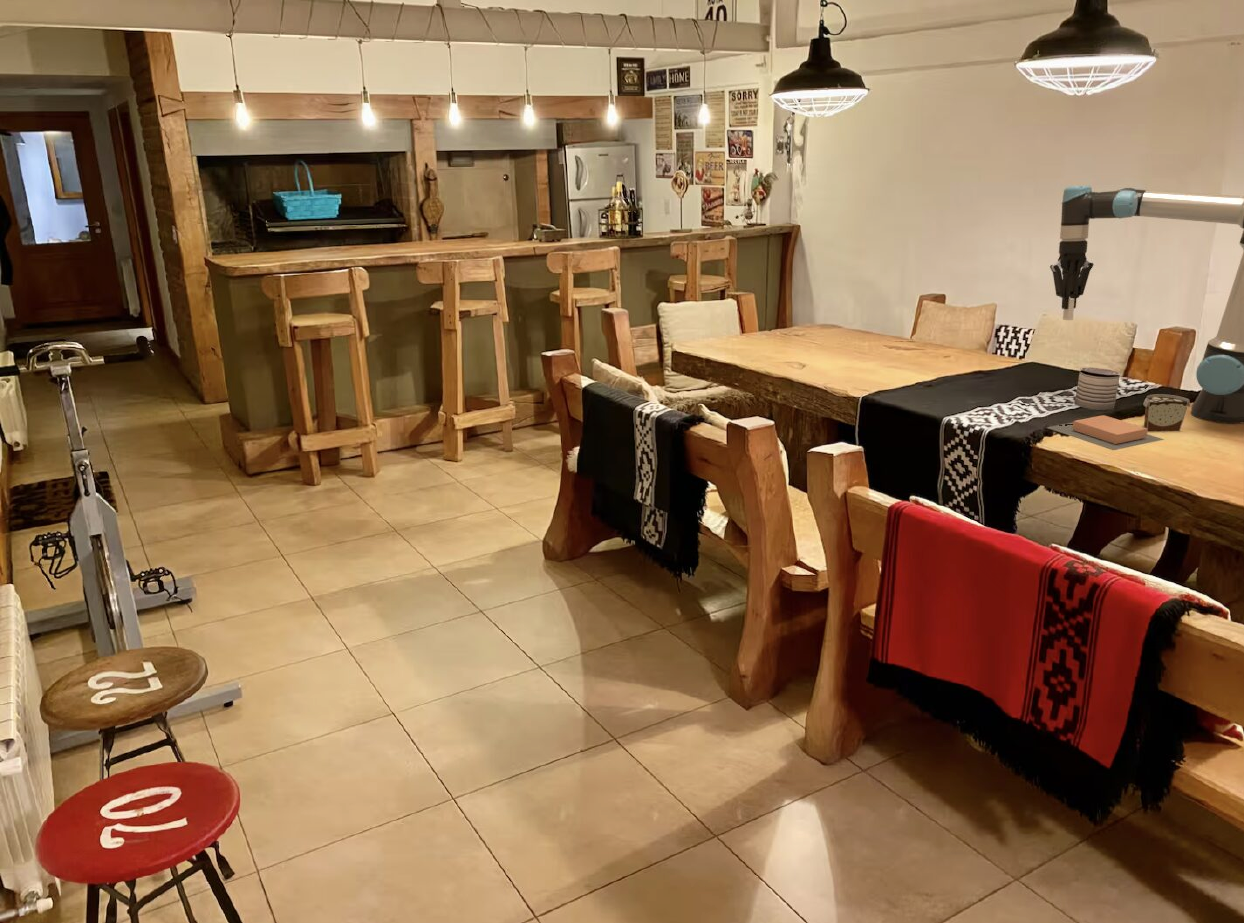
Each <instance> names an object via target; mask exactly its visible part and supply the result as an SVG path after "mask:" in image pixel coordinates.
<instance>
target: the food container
mask: <svg viewBox="0 0 1244 923" xmlns="http://www.w3.org/2000/svg"><path fill="white" fill-rule="evenodd" d="M1142 404H1143V406H1144V407H1145V409H1144V410H1145V411H1144V423H1143V427H1144V428H1148V431H1147V432H1180V431H1181V429H1182V426H1183V422H1184V419H1185V415H1186V412H1187V409H1188V407H1191V402H1190V398H1186V397H1183V396H1179V395H1173V394H1172V395H1171V394H1165V393H1162V394H1161V393H1160V394H1159V393H1157V394H1149V395H1146V398H1145V399H1144V401H1143V403H1142Z"/></svg>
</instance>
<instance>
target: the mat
mask: <svg viewBox="0 0 1244 923" xmlns="http://www.w3.org/2000/svg"><path fill="white" fill-rule="evenodd" d="M1073 422H1074V421H1072V422H1067V423H1062V424H1057V425H1052V426H1047V427H1045V429H1049V430H1051V431H1054V432H1057V433H1060V434H1065V435H1066V436H1070V437H1072V438H1075V439H1079V440H1082V441H1084V442H1087V443H1090V444H1094V445H1097V446H1099V447H1102V448H1105V449H1108V450H1112V451H1116V450H1121V449H1122V450H1123V449H1126V448H1131V447H1135V446H1139V445H1145V444H1149V443H1153V442H1159V441H1164V440H1165V439H1164V438H1161V437H1158V436H1155V435H1151V434H1148V433H1147V436H1146V437H1145V438H1142V439H1137V440H1132V441H1128V442H1123V443H1118V444H1114V443H1111V442H1108V441H1105V440H1102V439H1098V438H1095V437H1092V436H1089V435H1086V434H1083V433H1080V432H1077V431H1074V430H1073V429H1072V428H1073V425H1067V426H1065V424H1073ZM1059 425H1062V426H1059Z"/></svg>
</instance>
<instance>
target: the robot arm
mask: <svg viewBox="0 0 1244 923" xmlns="http://www.w3.org/2000/svg"><path fill="white" fill-rule="evenodd" d="M1092 189H1093V188H1092V186H1090V185H1078V186H1067V187H1065V189H1064V190H1063V194H1062V202H1061V216H1060V217H1061V221H1060V232H1059V233H1060V234H1059V239H1060V240H1061V241H1060V242H1059V244H1058V245H1059V247H1058V254H1059V256H1058V259H1057V262H1056V263H1054V264H1051V265H1050V266H1049V269H1050V270H1051V272H1052V277H1053V282H1054V289H1055V296H1057V297H1059V298H1061V309H1062V310H1063V311H1062V312H1063V313H1062V320H1065V321H1073V320H1074V309H1076V307H1077V299H1078V298H1080V296H1083V295H1084V293H1085V289H1086V285H1087V282H1088V279H1089V276H1090V272H1091V270H1092V268H1093V267H1094V265H1095V264H1094V262H1090V261H1089V260H1088V259H1087V256H1086V255H1087V254H1086V253H1087V251H1088V240H1086V239H1089V226H1090V219H1091V220H1095V219H1126V218H1132V217H1147V218H1157V219H1167V220H1168V219H1170V220H1180V221H1192V222H1206V223H1215V224H1216V223H1217V224H1229V225H1238V226H1239V227H1240V228H1241V229H1243V230H1242V234H1241V238H1240V239H1239V245H1240V246H1241V249H1242V250H1243V252H1242V255H1241V258H1240V262H1239V265H1238V269H1237V271H1236V275H1235V277H1234V281H1233V284H1232V287H1231V290H1230V293H1229V295H1228V299H1227V302H1226V305H1225V309H1224V311H1223V315H1222V318H1221V321H1220V325H1219V327H1218V331H1217V334H1216V335H1215V336H1214V337H1213V338H1211V339H1209V340H1208V341H1207V343H1206V347H1205V350H1204V353H1203V357H1202V359H1201V362H1200V363H1199V365H1198V366H1197V368H1196V371H1195V372H1196V374H1195V376H1196V381H1197V383H1198V385H1199V386H1200V387H1201V388H1202V389H1201V390H1200V392H1199V394H1198V395H1197V397H1196V399H1195V401H1194V402H1193V403H1192V405H1191V408H1190V409H1191V410H1190V414H1191V415H1192V416H1194V417H1195V418H1198V419H1202V420H1205V421H1210V422H1213V423H1214V422H1216V423H1221V424H1222V423H1223V424H1244V196H1240V195H1230V194H1229V195H1228V194H1213V193H1200V192H1199V193H1197V192H1183V191H1168V190H1153V189H1152V190H1150V189H1146V190H1145V189H1137V188H1134V187H1124V188H1121V189H1117V190H1111V191H1099V192H1097V191H1093V190H1092Z"/></svg>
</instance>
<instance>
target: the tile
mask: <svg viewBox="0 0 1244 923" xmlns="http://www.w3.org/2000/svg"><path fill="white" fill-rule="evenodd" d="M1072 422H1073V428H1072V429H1073V430H1074V431H1077V432H1080V433H1083V434H1086V435H1089V436H1092V437H1095V438H1098V439H1102V440H1105V441H1108V442H1111V443H1114V444H1118V443H1123V442H1128V441H1132V440H1137V439H1142V438H1145V437H1146V436H1147V434H1148V432H1149V431H1148V428H1144V426H1141V425H1137V424H1133V423H1130V422H1127V421H1124V420H1120V419H1117V418H1114V417H1110V416H1107V415H1105V414H1103V415H1097V416H1092V417H1087V418H1083V419H1081V418H1080V419H1077V420H1073V421H1072Z"/></svg>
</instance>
